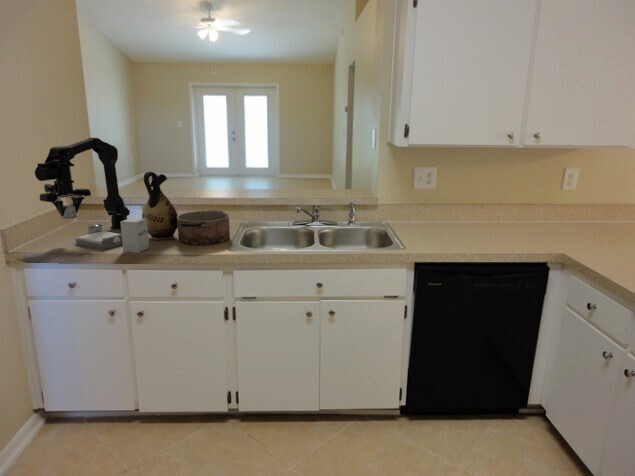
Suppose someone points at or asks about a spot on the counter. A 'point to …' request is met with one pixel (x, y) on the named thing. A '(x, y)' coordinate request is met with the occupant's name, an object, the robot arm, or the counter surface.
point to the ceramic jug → (159, 209)
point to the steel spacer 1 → (69, 211)
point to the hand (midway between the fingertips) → (69, 214)
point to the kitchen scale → (100, 240)
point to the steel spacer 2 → (94, 228)
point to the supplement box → (134, 235)
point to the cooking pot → (203, 227)
